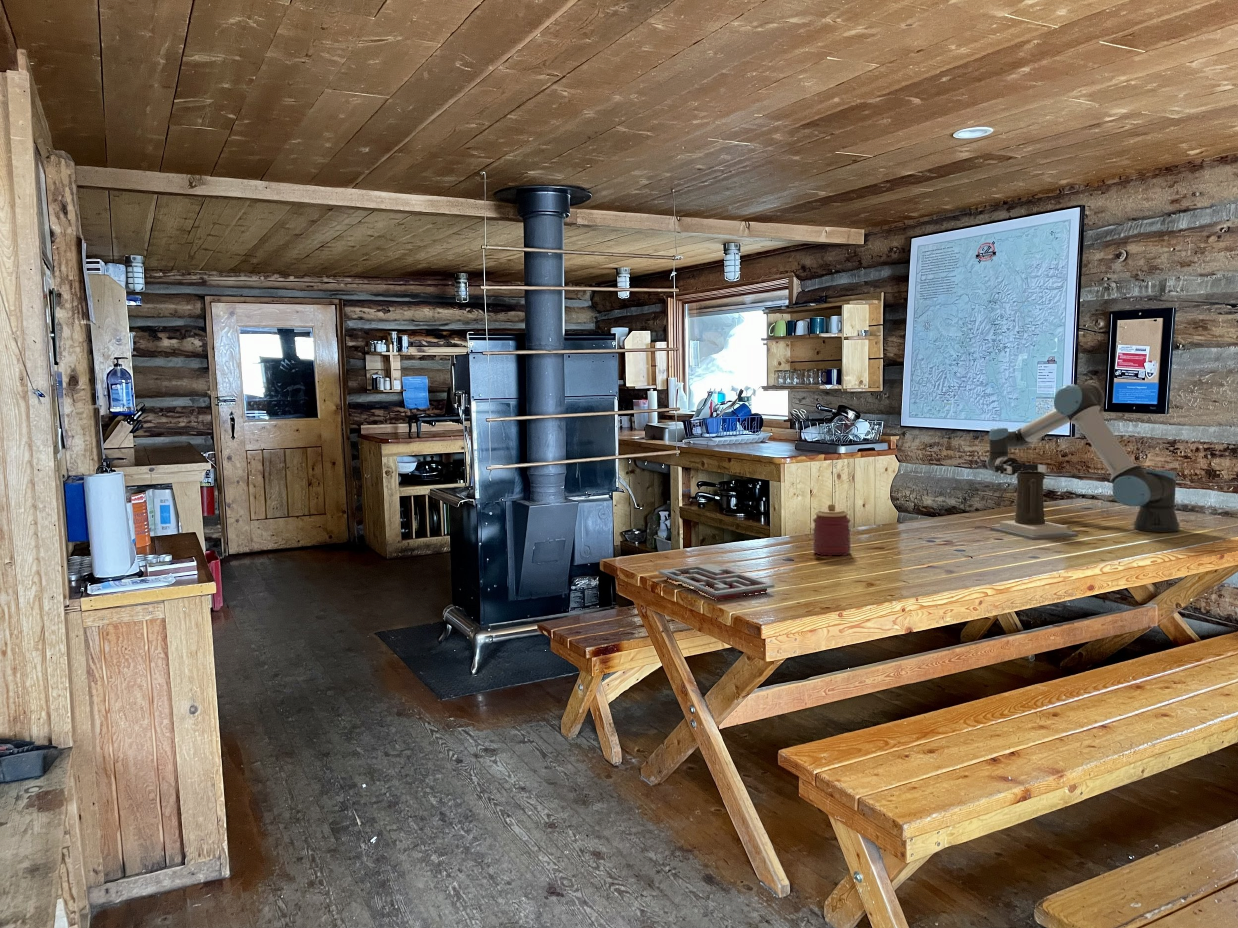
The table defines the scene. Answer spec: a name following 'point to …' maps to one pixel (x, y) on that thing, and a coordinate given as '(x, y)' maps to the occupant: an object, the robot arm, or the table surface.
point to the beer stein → (1030, 498)
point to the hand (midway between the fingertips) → (1028, 469)
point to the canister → (831, 532)
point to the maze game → (717, 581)
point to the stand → (1034, 530)
